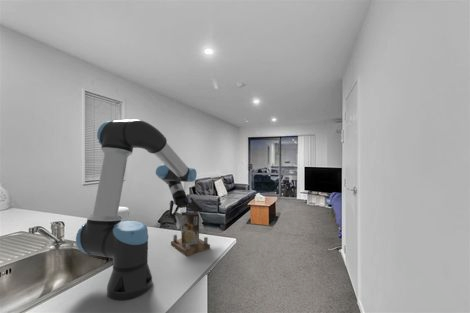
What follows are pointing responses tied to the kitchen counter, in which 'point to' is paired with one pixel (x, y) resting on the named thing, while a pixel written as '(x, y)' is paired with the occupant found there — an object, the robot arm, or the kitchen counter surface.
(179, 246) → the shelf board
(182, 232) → the coffee box
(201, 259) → the kitchen counter surface
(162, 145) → the robot arm
